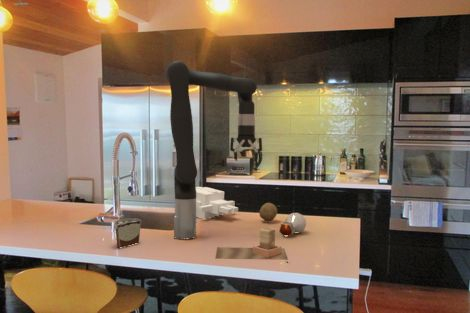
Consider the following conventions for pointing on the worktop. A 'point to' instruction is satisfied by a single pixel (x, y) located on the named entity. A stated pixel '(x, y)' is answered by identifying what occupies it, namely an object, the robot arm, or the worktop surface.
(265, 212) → the natural sponge
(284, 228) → the potion bottle
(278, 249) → the square tan tray
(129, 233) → the food container
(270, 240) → the tan tall block
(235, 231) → the worktop surface
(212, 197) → the blocky voxel creature
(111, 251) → the worktop surface
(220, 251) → the walnut board
